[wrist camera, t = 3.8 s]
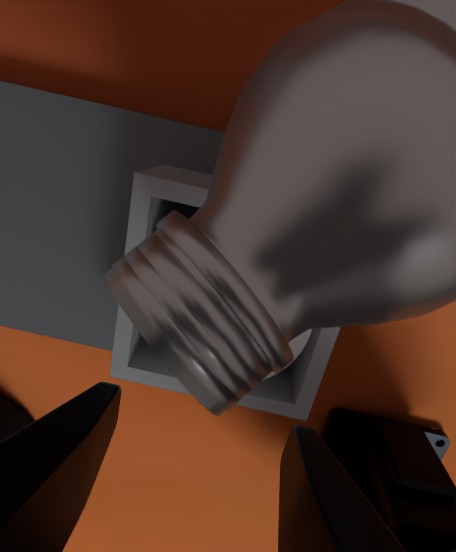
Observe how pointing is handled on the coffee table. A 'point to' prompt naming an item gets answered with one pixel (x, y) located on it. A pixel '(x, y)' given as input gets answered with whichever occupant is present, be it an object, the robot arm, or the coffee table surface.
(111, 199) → the twin socket base plate
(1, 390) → the coffee table surface
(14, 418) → the pen holder
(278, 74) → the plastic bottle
